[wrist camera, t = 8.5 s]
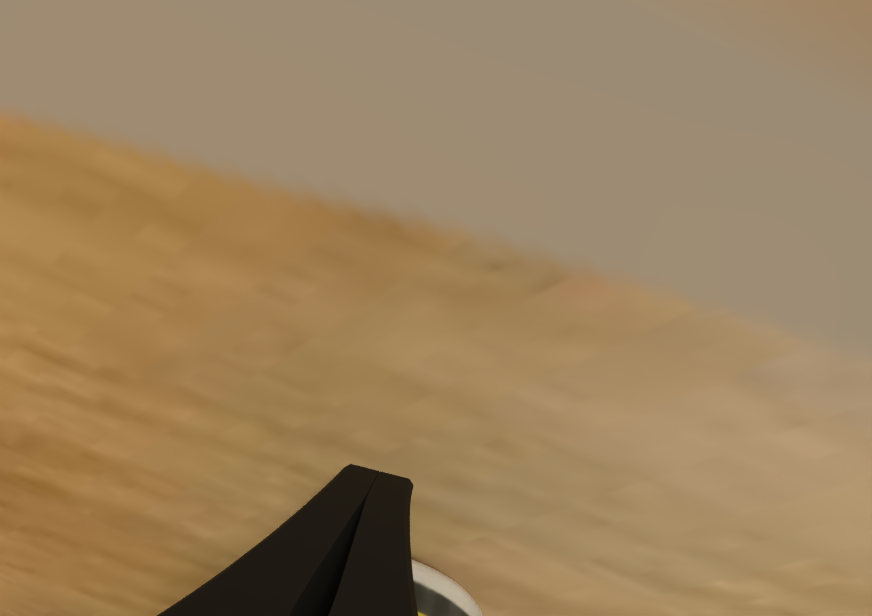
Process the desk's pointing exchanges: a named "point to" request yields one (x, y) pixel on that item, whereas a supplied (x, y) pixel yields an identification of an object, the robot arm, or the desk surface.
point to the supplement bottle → (440, 594)
